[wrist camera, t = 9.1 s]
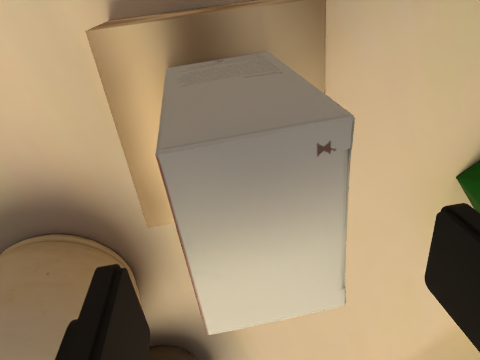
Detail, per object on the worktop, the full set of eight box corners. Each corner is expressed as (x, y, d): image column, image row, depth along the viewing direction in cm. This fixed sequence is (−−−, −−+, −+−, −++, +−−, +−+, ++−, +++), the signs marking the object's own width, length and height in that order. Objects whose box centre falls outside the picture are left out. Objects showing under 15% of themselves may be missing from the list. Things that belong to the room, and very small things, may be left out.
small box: (164, 65, 18) (148, 146, 9) (270, 49, 18) (360, 109, 9) (194, 194, 22) (204, 342, 13) (279, 178, 22) (348, 311, 13)
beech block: (292, -5, 23) (326, -3, 17) (297, 157, 29) (323, 195, 23) (108, 20, 22) (85, 31, 16) (153, 182, 28) (147, 227, 22)
